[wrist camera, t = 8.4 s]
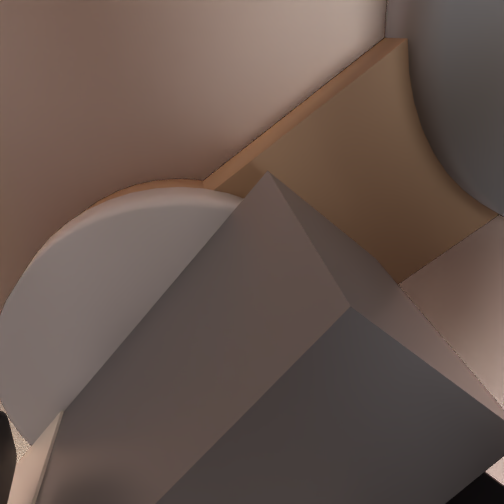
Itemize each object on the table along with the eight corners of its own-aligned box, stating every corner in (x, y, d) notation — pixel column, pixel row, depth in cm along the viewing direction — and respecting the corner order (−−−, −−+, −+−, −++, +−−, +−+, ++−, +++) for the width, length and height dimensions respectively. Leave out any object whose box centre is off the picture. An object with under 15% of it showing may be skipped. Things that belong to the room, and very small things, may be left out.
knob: (165, 78, 8) (136, 153, 3) (421, 289, 10) (630, 515, 5) (-71, 399, 9) (-313, 752, 5) (191, 512, 12) (198, 823, 7)
